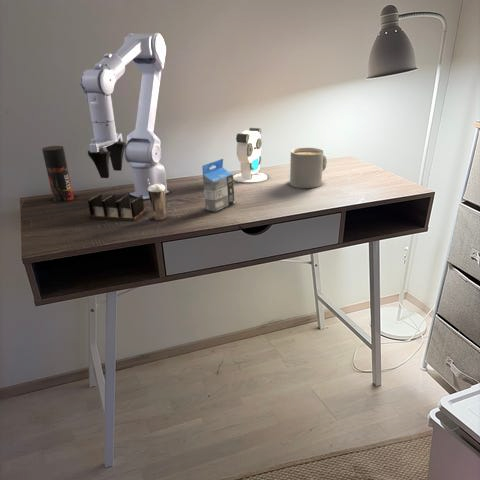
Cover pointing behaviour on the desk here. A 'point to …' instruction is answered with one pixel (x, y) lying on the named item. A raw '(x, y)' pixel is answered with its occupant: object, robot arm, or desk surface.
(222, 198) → the label tape box
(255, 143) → the panda figurine
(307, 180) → the coffee mug
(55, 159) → the deodorant
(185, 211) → the desk surface
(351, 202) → the desk surface
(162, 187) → the milkshake
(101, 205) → the letter rack
